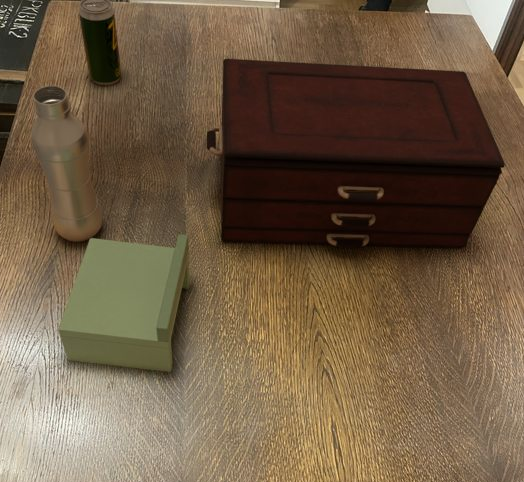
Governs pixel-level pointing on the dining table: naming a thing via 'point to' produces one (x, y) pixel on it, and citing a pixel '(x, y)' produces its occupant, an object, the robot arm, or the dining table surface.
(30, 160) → the dining table surface
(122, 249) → the olive green stepped block
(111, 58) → the beer can
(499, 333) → the dining table surface
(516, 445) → the dining table surface
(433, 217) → the storage box
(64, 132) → the tan metal bottle
